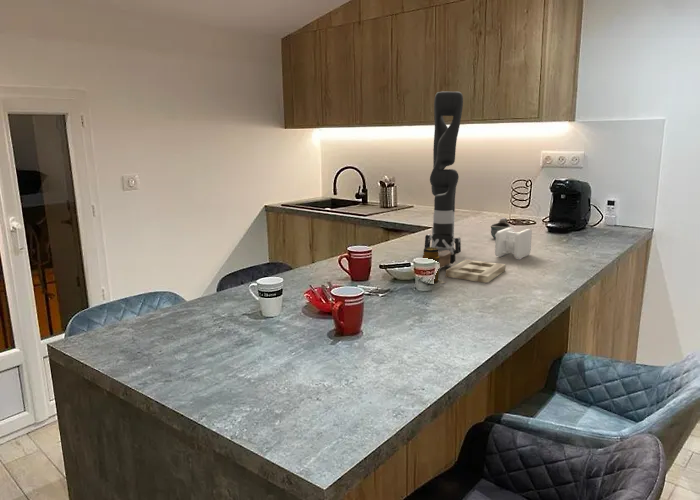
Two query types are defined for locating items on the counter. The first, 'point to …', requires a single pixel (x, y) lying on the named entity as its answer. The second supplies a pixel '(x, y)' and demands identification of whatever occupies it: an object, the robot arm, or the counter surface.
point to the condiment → (433, 254)
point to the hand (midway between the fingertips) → (442, 262)
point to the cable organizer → (513, 242)
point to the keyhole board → (475, 271)
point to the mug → (499, 226)
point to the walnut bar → (444, 258)
